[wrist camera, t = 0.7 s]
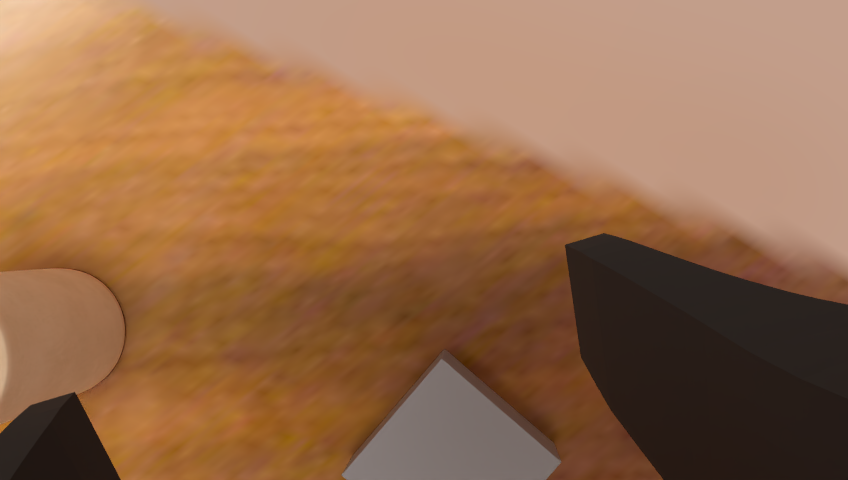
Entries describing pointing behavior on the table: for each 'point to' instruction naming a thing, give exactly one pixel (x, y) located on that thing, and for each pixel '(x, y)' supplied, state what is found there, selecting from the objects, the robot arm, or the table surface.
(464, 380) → the gray block
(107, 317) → the candle
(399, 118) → the table surface
